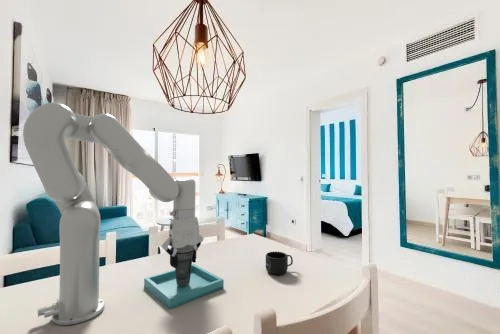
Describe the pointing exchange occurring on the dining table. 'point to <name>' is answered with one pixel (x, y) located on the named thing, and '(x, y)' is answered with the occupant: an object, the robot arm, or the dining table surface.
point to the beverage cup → (184, 265)
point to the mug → (277, 262)
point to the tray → (178, 295)
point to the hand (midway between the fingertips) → (183, 263)
